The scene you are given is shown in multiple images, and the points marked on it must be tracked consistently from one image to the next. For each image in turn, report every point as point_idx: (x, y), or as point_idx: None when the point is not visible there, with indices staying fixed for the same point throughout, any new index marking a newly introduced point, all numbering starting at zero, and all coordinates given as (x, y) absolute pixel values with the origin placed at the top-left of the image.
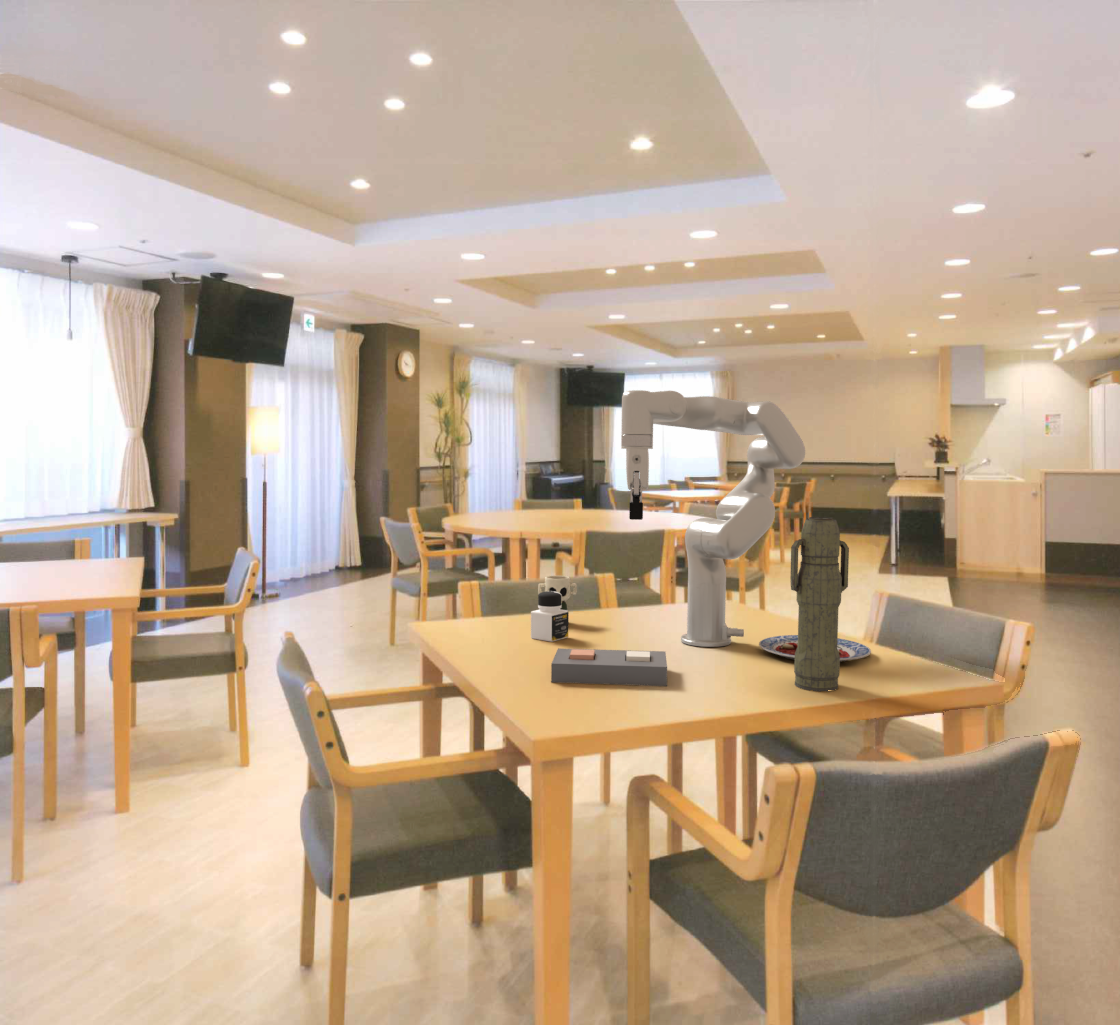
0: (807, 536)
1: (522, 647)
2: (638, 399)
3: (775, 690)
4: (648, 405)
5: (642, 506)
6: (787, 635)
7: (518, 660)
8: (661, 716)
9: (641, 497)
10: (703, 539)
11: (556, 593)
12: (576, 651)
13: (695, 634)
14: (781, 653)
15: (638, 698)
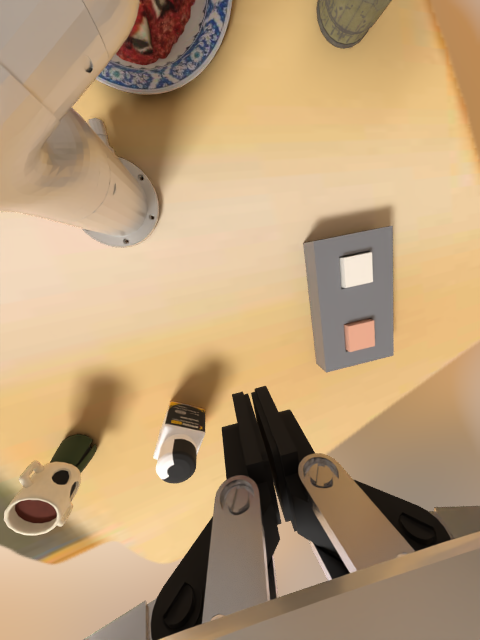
0: None
1: None
2: None
3: (374, 82)
4: None
5: (288, 434)
6: None
7: (302, 407)
8: (474, 217)
9: (361, 495)
10: (56, 87)
11: (179, 459)
12: (359, 343)
13: (142, 217)
14: (213, 49)
15: (422, 251)
